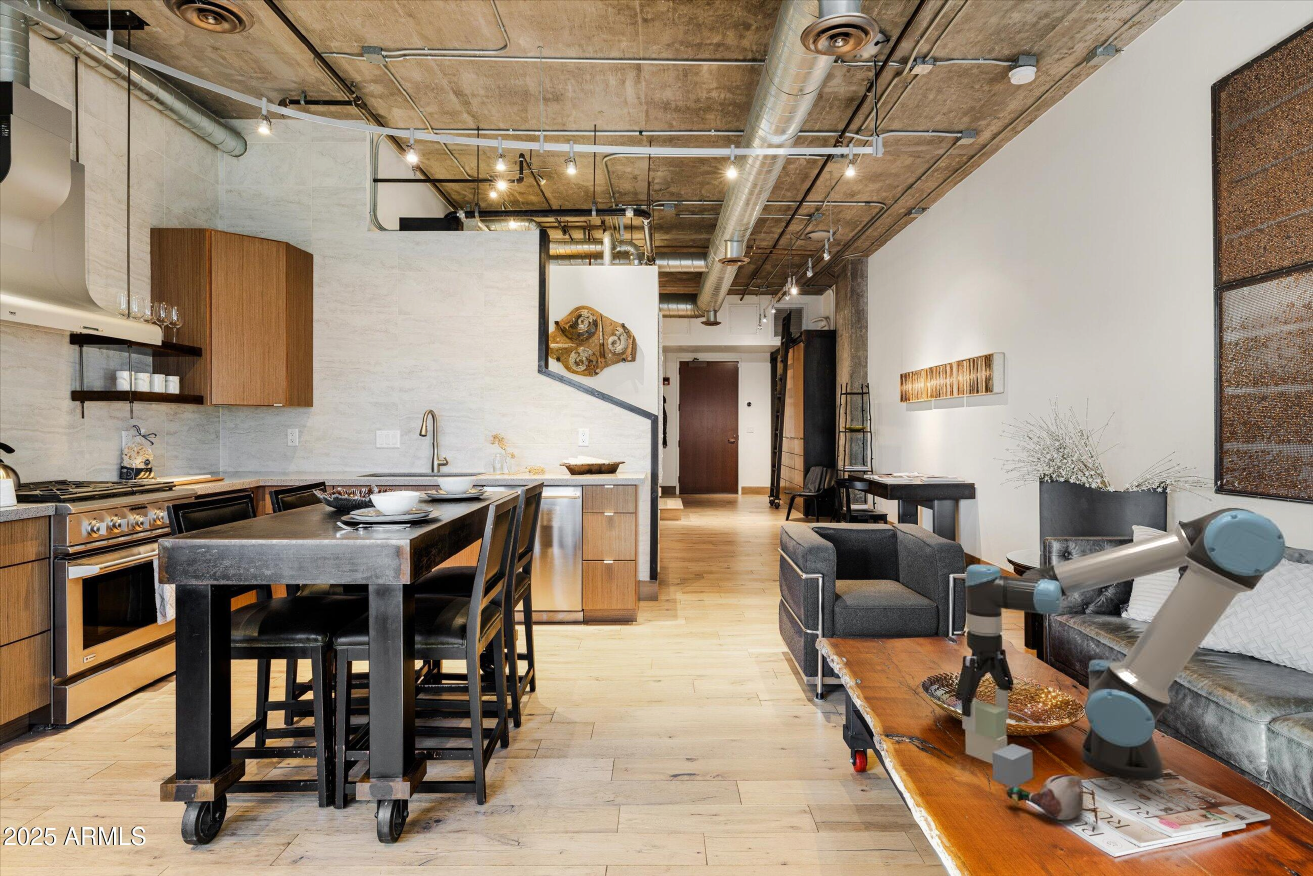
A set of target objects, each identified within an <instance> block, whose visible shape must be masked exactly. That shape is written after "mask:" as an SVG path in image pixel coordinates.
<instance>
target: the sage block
mask: <svg viewBox="0 0 1313 876" xmlns="http://www.w3.org/2000/svg"><path fill="white" fill-rule="evenodd" d="M972 702H975V731H976V733H978V734H981V735H984V736H987V737H989V738H992V739H995V740H997V739H999V738H1001V737H1004V736H1007V719H1006V709H1004V708H1001V707H998V706H995V705H994V704H991V703H988V702H985V701H981V700H978V699H976V698H974V699H973V701H972Z"/></svg>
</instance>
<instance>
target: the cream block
mask: <svg viewBox="0 0 1313 876" xmlns="http://www.w3.org/2000/svg"><path fill="white" fill-rule="evenodd" d="M964 731H965V734H964V735H965V754H966V755H969V756H971V757H974V758H976V759H979V760H981V761H984V762H987V763H989V764H992V765H993V753H992V752H995V751H997V750H999V749H1002V748H1004V747H1006V746H1008V736H1007V735H1006V736H1004V737H1001V738H999V739H997V740H995V739H992V738H989V737H987V736H984V735H981V734H978V733H976V732H971V731H969V730H966V729H964Z"/></svg>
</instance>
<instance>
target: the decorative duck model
mask: <svg viewBox="0 0 1313 876" xmlns="http://www.w3.org/2000/svg"><path fill="white" fill-rule="evenodd" d="M1084 794H1087V795H1091V800H1092V802H1093V803H1092V804H1093V809H1089V808H1086V807H1085V808H1083V805H1084ZM1006 796H1007V797H1009V799H1011V800H1013V801H1014V803H1015V804H1016V806H1019V802H1021V801H1026V802H1030V803H1032V804H1034V805H1036V806H1037V807H1039V808H1040V809H1041V810H1043V812H1045V813H1046V814H1047V815H1048V816H1050V817H1051V818H1053V819H1056V820H1060V821H1069V820H1074V819H1076V818H1077V817H1078V816H1079V815H1080V814H1081V812H1083V811H1084V812H1092V813H1094V819H1095V824H1096V825H1098V809H1097V808H1096V807H1095V806H1096V794H1095V790H1094V789H1091V791H1085V790H1084V785H1083V782H1082V779H1081V778H1080V777H1079V776H1077V775H1073V774H1060V775H1059V774H1057V775H1053V776H1050V777H1049V778H1048V779H1046V781H1045V782H1044V783H1043V785H1042V787H1041V789H1040V791H1038V792H1036V793H1033V792H1030V791H1027V790H1025V789H1023V788H1022V787H1021V788H1020V787H1018V786H1017V787H1013V788H1011V787H1009V788H1008V789H1007V790H1006Z"/></svg>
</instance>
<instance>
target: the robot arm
mask: <svg viewBox="0 0 1313 876" xmlns="http://www.w3.org/2000/svg"><path fill="white" fill-rule="evenodd" d="M1286 547H1287V546H1286V541H1285V537H1284V535H1283V533H1282V531H1281V529H1280V528H1279V527H1278V526H1277V524H1276V523H1274V522H1273V521H1272V520H1271V519H1270V518H1267V517H1265V516H1264V515H1262V514H1260V513H1256V512H1254V511H1252V510H1250V509H1249V510H1248V509H1245V508H1239V507H1227V508H1221V509H1218V510H1215V511H1213V512H1210V513H1207V514H1205V515H1203V516H1201V517H1198V518H1195V519H1193V520H1190V521H1185V522H1183V523H1180V524H1177V525H1176V527H1175V529H1174V530H1173V531H1169V532H1166V533H1161V534H1159V535H1154V536H1151V537H1149V538H1148V537H1147V538H1143V539H1141V540H1137V541H1134V542H1133V541H1132V542H1130V543H1127V544H1123V545H1118V546H1116V547H1115V546H1114V547H1111V548H1109V549H1104V550H1102V551H1098V552H1093V553H1090V554H1087V555H1084V556H1079V557H1076V558H1073V559H1069V560H1066V561H1062V562H1058V563H1055V564H1053V565H1049V566H1044V567H1041V568H1039V567H1035V568H1032V569H1029V570H1026V572H1025V573H1023V574H1022V576H1020V577H1019V576H1018V577H1017V576H1006V575H1003V573H1002V571H1001V568H1000V567H999V566H996V565H992V564H991V565H990V564H971V565H968V566H967V568H966V569H965V570H966V573H965V583H964V584H965V585H964V586H965V605H966V606H965V607H966V608H965V611H966V615H965V618H966V629H967V632H966V646H967V648H969V649H970V651H971V655H970V656H968V655H963V656H962V666H961V670H960V674H959V678H958V683H957V687H956V690H955V694H954V698H955V700H959V701H961V717H962V718H961V721H962V723H961V724H962V727H961V728H962V729H964V730H965V729H966V730H969V731H971V732H976V731H975V702H972V701H973V699H975V696H976V693H977V690H978V689H979V685H980V683H981V681H982V679H983V678H985V676H986V675H987V674H988V673H989V675H990V677H991V678H992V680H993V681H994V683H995V685H996V686H997V687H995V688H994V693H995V694H994V695H995V697H994V699H995V701H994V702H995V706H998V707H1001V708H1004V709H1006V720H1007V719H1009V691H1010V692H1012V691H1013V690H1014V688H1013V687H1014V684H1015V681H1014V679H1013V676H1012V672H1011V670H1010V666H1009V663H1008V661H1007V653H1006V649H1003V634H1001V633H1002V632H1003V619H1002V615H1003V614H1002V610H1003V609H1005V610H1012V611H1018V612H1019V611H1020V612H1027V613H1035V614H1036V613H1037V614H1040V615H1058V614H1061V612H1062V611H1061V610H1062V605H1063V603H1062V601H1063V599H1062V598H1063V597H1067V596H1070V595H1074V594H1079V593H1082V592H1086V591H1091V590H1093V589H1094V590H1095V589H1099V588H1102V587H1106V586H1110V585H1113V584H1118V583H1121V582H1126V581H1130V580H1133V579H1137V578H1142V577H1145V576H1150V575H1153V574H1157V573H1162V572H1166V571H1169V570H1174V569H1177V568H1182V567H1186V566H1187V569H1186V571H1185V572H1184V573H1183V575H1182V576H1181V578H1180V579H1179V581H1178V582H1177V584H1176V585H1175V587H1173V589H1172V590H1171V591H1170V592H1171V593H1169V594H1168V596H1167V598H1166V599H1165V601H1164V602H1163V603H1162V604H1161V606H1160V608H1159V609H1158V611H1157V612H1156V613H1155V615H1154V616H1153V618H1152V619H1151V621H1150V622H1149V623H1148V625H1147V626H1146V627H1145V629H1144V630H1143V632H1142V633H1141V634H1140V636H1139V637H1138V639H1137V640H1136V642H1135V643H1134V644H1133V646H1132V647H1131V649H1130V650H1129V652H1128V653H1127V655H1126V656H1125V658H1124V659H1123V660H1122V661H1120V660H1112V659H1111V660H1110V659H1092V660H1090V661H1089V664H1088V669H1087V673H1088V691H1087V692H1088V693H1087V697H1086V700H1085V704H1084V712H1085V716H1086V719H1087V722H1088V723H1089V727H1088V730H1087V732H1086V734H1085V737H1084V741H1083V742H1082V746H1081V757H1082V759H1083V761H1084V762H1085V763H1086V764H1087V765H1089V766H1091V767H1092V768H1094V769H1096V770H1098V771H1101V772H1103V773H1106V774H1109V775H1111V776H1115V777H1120V778H1125V779H1130V780H1137V781H1138V780H1140V781H1151V780H1156V779H1157V780H1158V779H1160V778H1161V777H1162V776H1163V774H1164V773H1163V772H1164V769H1163V760H1162V759H1161V756H1160V753H1159V751H1158V748H1157V745H1156V743H1155V741H1154V737H1153V735H1154V731H1155V730H1156V722H1157V721H1158V719H1159V718H1160V717H1161V715H1162V714H1163V712H1164V711H1165V710H1166V709H1167V707H1168V705H1170V703H1171V698H1170V696H1169V693H1168V691H1169V688H1170V687H1171V685H1172V684H1173V683H1174V681H1175V680H1176V679H1177V677H1178V676H1179V675H1180V673H1181V672H1182V670H1183V669H1184V667H1185V666H1186V665H1187V663H1188V662H1189V661H1190V659H1191V658H1192V656H1194V654H1195V652H1196V651H1197V649H1198V648H1199V647H1200V646H1201V644H1202V643H1203V641H1204V640H1205V639H1206V638H1207V636H1208V635H1209V634H1210V633H1211V630H1212V629H1213V628H1214V626H1215V625H1216V624H1217V622H1218V621H1219V619H1220V618H1221V617H1222V615H1223V614H1224V613H1225V612H1226V610H1227V609H1228V607H1229V606H1230V605H1231V603H1232V602H1233V601H1234V599H1235V598H1236V596H1238V594H1241V593H1246V592H1253V590H1254V589H1255V587H1257V585H1258V584H1259V582H1260V581H1261V580H1262V579H1263V577H1264V576H1265V574H1267V573H1269V572H1270V571H1273V570H1274V569H1275V568H1276V567H1278V566H1279V565H1280V564H1281V562H1282V560H1283V559H1284V556H1285V554H1286Z"/></svg>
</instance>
